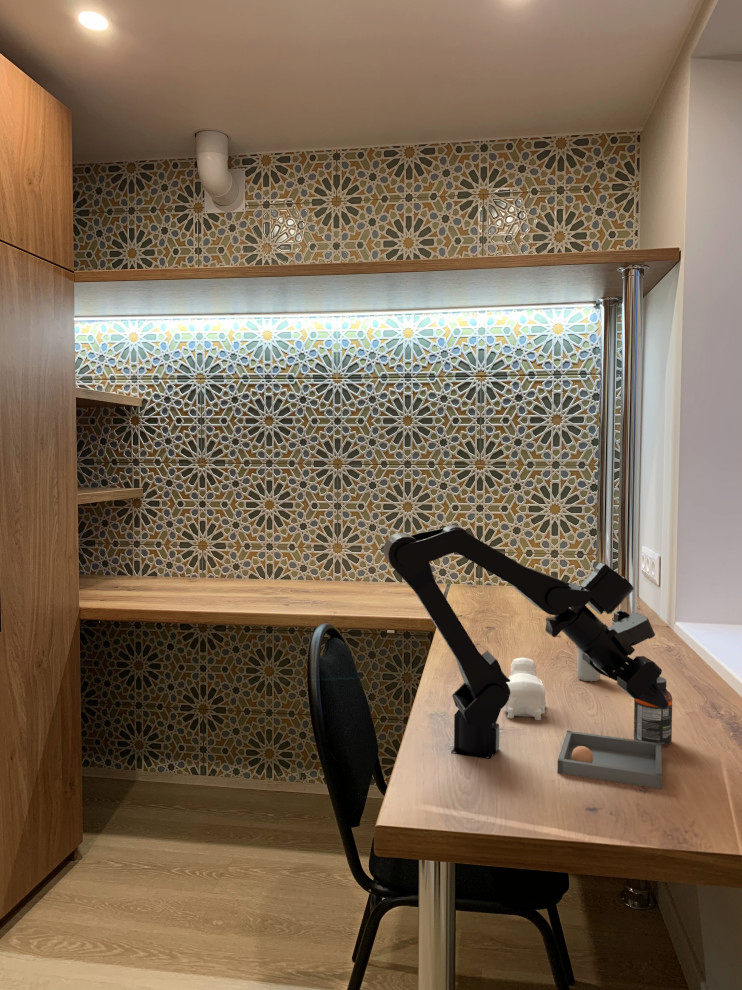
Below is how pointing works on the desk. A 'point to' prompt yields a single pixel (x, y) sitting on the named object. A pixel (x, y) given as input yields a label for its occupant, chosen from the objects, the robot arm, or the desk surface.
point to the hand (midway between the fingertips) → (652, 697)
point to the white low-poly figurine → (525, 690)
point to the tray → (613, 759)
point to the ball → (582, 754)
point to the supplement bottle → (654, 719)
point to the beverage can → (585, 669)
